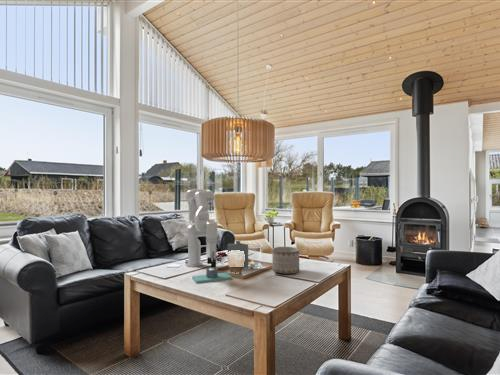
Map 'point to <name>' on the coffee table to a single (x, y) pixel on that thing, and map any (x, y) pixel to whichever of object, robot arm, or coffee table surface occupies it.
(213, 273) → the gunmetal ring
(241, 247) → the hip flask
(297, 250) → the planter
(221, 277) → the piston stand
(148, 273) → the coffee table surface
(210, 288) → the coffee table surface
